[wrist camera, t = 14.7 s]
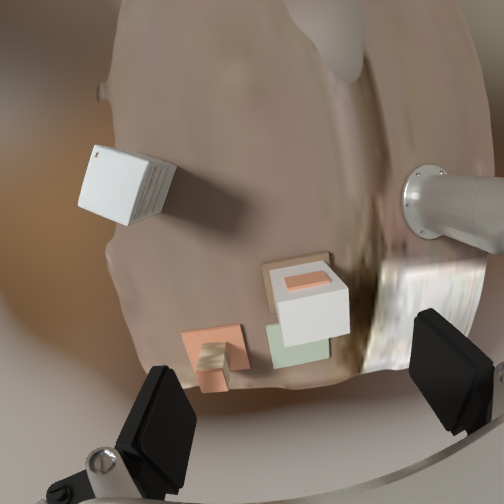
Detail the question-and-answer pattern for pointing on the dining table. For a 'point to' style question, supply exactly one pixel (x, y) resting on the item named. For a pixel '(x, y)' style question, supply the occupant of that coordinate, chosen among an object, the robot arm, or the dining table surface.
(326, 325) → the mounted unit
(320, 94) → the dining table surface
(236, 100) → the dining table surface
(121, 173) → the supplement box
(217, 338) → the terracotta pad
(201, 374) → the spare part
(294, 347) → the sage pad
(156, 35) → the dining table surface
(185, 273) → the dining table surface
